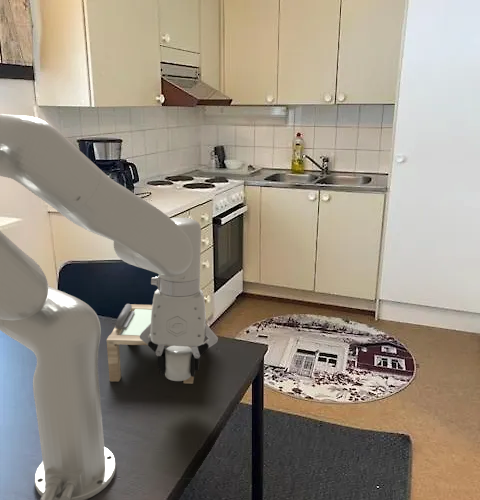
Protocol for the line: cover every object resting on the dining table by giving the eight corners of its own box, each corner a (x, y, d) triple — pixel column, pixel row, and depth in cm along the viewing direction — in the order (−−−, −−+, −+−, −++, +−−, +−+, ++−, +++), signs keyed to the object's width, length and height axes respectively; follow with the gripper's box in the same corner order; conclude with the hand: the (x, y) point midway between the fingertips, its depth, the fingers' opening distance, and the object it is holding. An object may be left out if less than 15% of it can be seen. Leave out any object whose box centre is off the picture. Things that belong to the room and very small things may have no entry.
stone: (190, 381, 95) (190, 358, 94) (162, 380, 95) (162, 356, 94) (193, 368, 100) (193, 345, 99) (167, 366, 100) (167, 344, 99)
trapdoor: (181, 341, 107) (181, 328, 106) (112, 338, 107) (111, 324, 106) (189, 315, 119) (189, 303, 118) (127, 312, 120) (126, 300, 119)
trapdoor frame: (192, 383, 107) (192, 342, 104) (109, 381, 108) (106, 339, 105) (201, 342, 124) (200, 306, 121) (129, 340, 125) (127, 304, 122)
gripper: (128, 289, 89) (130, 380, 94) (224, 294, 89) (220, 385, 94) (138, 276, 96) (139, 360, 101) (226, 280, 96) (223, 365, 101)
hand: (178, 371), depth 97 cm, fingers closed on stone, 5 cm apart
